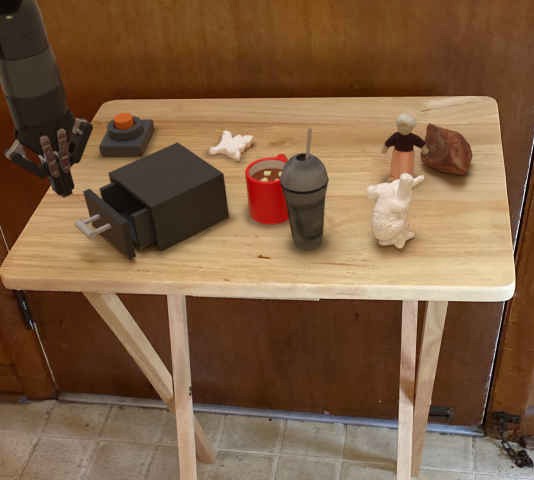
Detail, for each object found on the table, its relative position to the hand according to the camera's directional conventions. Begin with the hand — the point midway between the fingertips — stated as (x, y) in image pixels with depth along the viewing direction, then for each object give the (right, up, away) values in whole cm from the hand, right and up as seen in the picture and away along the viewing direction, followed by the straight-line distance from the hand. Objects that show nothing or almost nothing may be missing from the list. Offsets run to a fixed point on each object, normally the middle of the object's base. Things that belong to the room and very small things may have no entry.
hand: (65, 193), depth 117 cm
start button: (+2, +19, +37) cm, 42 cm away
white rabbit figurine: (+49, -6, +11) cm, 50 cm away
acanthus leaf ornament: (+22, +14, +35) cm, 44 cm away
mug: (+30, +2, +21) cm, 37 cm away
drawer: (+7, -4, +17) cm, 18 cm away
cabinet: (+13, -1, +20) cm, 24 cm away
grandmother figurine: (+52, +6, +23) cm, 58 cm away
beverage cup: (+35, -6, +13) cm, 38 cm away
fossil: (+60, +8, +25) cm, 66 cm away
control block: (+2, +16, +40) cm, 43 cm away
